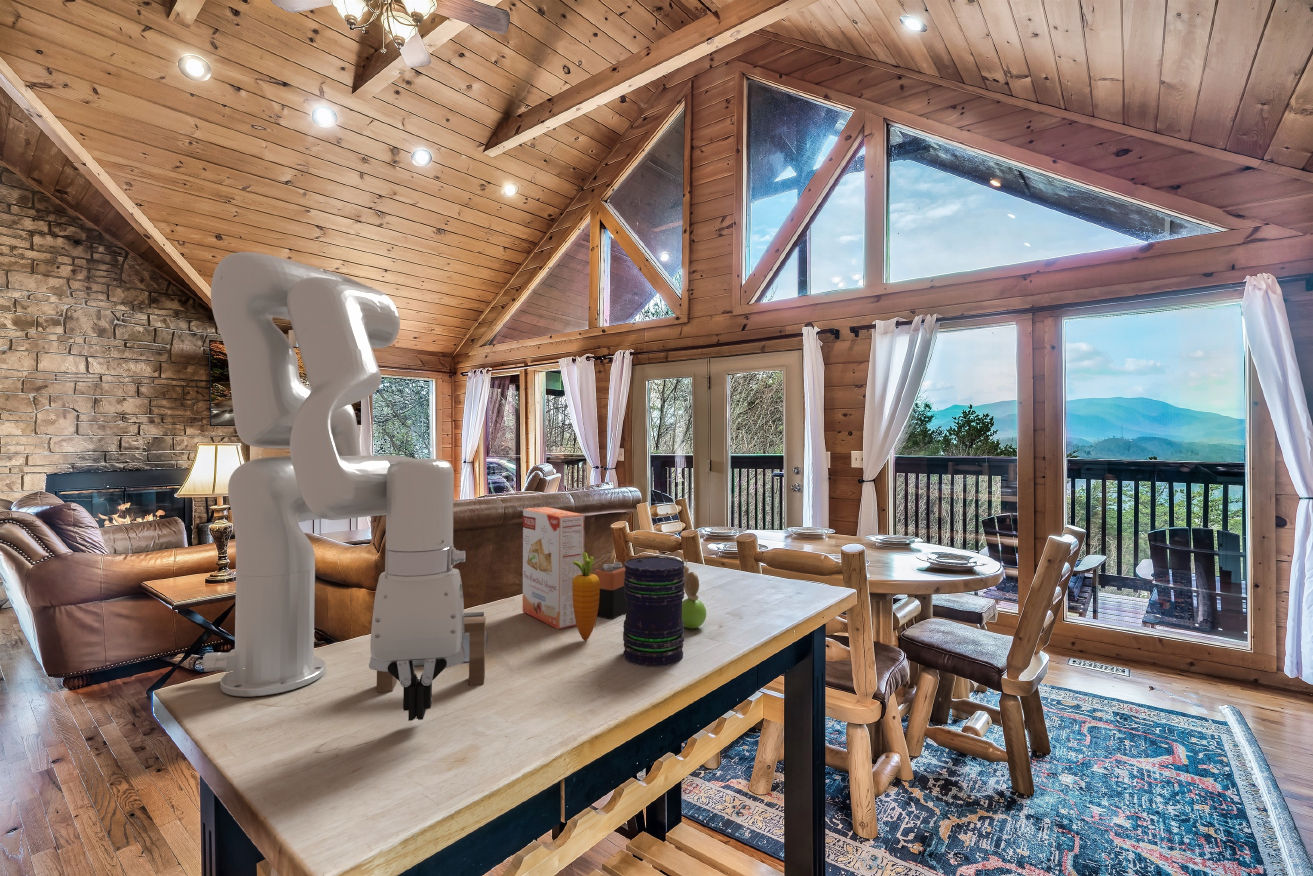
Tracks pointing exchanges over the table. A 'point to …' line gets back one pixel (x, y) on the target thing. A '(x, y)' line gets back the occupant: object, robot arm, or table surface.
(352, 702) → the table surface
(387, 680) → the bridge
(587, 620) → the carrot
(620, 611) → the battery
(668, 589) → the dark blue cylinder
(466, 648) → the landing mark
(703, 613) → the snail figurine
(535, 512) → the cracker box
